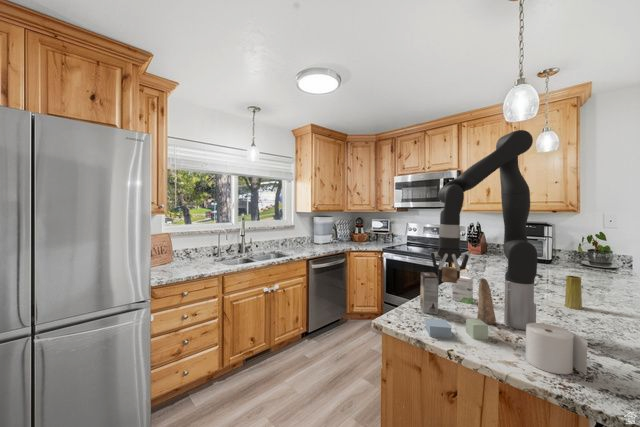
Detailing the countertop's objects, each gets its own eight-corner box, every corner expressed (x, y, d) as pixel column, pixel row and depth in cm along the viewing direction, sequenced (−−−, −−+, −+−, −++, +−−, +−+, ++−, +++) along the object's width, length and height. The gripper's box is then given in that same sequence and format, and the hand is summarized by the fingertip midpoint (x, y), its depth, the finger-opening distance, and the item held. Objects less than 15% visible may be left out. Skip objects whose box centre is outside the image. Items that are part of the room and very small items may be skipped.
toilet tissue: (519, 352, 87) (519, 320, 86) (565, 358, 83) (566, 325, 83) (534, 371, 76) (535, 335, 76) (588, 379, 73) (589, 341, 73)
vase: (567, 308, 126) (568, 277, 126) (562, 304, 132) (562, 274, 132) (585, 310, 124) (585, 278, 124) (578, 306, 130) (578, 276, 130)
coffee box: (419, 305, 128) (420, 271, 128) (434, 307, 127) (434, 272, 127) (423, 313, 119) (423, 276, 119) (438, 314, 118) (439, 277, 118)
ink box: (473, 301, 135) (473, 277, 135) (469, 304, 131) (470, 279, 131) (454, 297, 141) (455, 274, 141) (451, 299, 138) (451, 276, 137)
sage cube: (479, 333, 100) (480, 319, 100) (487, 339, 95) (488, 325, 95) (465, 332, 100) (466, 319, 100) (473, 339, 95) (473, 324, 95)
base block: (445, 330, 102) (445, 319, 102) (451, 339, 96) (451, 327, 95) (425, 328, 104) (425, 318, 104) (429, 337, 97) (430, 326, 97)
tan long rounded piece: (477, 319, 114) (479, 325, 108) (470, 276, 114) (472, 280, 109) (494, 319, 112) (498, 326, 106) (487, 275, 112) (490, 279, 106)
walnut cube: (454, 279, 110) (454, 267, 109) (456, 283, 105) (457, 270, 105) (440, 278, 111) (441, 266, 111) (442, 281, 106) (442, 269, 106)
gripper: (467, 236, 109) (466, 278, 109) (429, 234, 113) (428, 275, 114) (472, 237, 102) (471, 283, 102) (430, 236, 106) (429, 279, 106)
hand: (448, 279), depth 108 cm, fingers closed on walnut cube, 5 cm apart
